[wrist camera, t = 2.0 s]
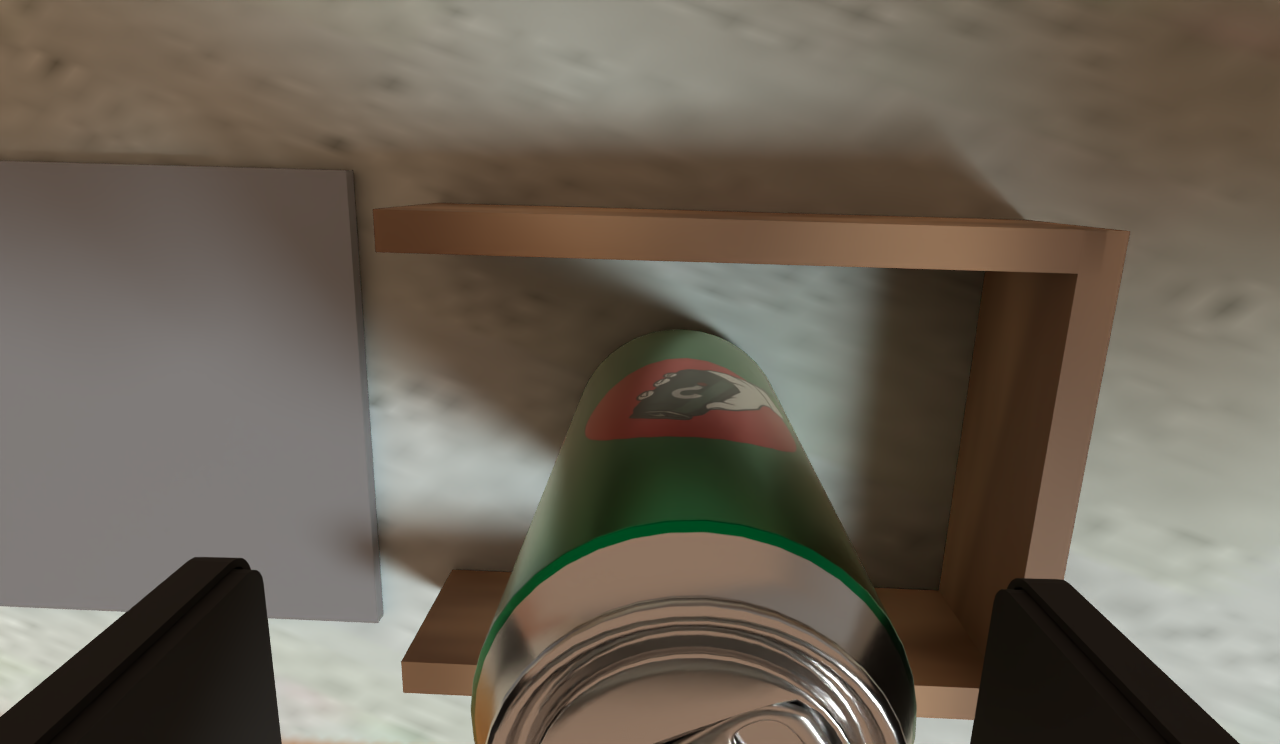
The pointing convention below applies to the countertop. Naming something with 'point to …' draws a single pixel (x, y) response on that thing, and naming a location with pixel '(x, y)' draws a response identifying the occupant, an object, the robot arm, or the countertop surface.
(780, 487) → the soda can
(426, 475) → the countertop surface
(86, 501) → the mat
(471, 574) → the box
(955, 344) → the countertop surface
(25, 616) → the countertop surface
